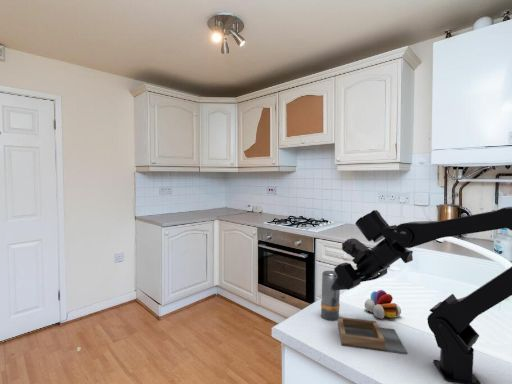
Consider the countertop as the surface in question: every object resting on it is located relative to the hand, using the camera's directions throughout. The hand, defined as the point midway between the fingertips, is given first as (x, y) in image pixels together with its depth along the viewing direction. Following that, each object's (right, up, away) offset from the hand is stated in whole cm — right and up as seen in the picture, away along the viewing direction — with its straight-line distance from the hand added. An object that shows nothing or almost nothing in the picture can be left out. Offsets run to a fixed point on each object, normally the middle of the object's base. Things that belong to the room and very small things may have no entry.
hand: (342, 285), depth 81 cm
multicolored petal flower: (+14, -11, +6) cm, 19 cm away
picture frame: (+5, -11, -8) cm, 14 cm away
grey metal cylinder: (-3, -11, +3) cm, 11 cm away
